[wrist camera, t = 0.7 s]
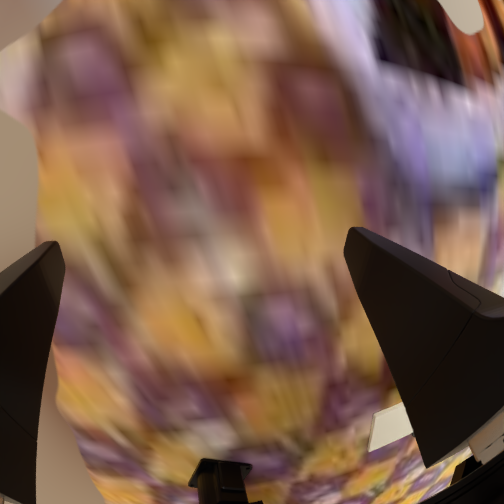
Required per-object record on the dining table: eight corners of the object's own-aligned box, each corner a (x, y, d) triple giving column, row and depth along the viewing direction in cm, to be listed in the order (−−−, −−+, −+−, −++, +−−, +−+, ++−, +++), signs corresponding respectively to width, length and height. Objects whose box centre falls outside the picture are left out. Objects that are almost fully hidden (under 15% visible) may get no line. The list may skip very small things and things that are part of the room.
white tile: (367, 449, 36) (368, 452, 36) (373, 413, 34) (375, 416, 34) (412, 429, 37) (414, 431, 37) (422, 392, 35) (425, 394, 35)
